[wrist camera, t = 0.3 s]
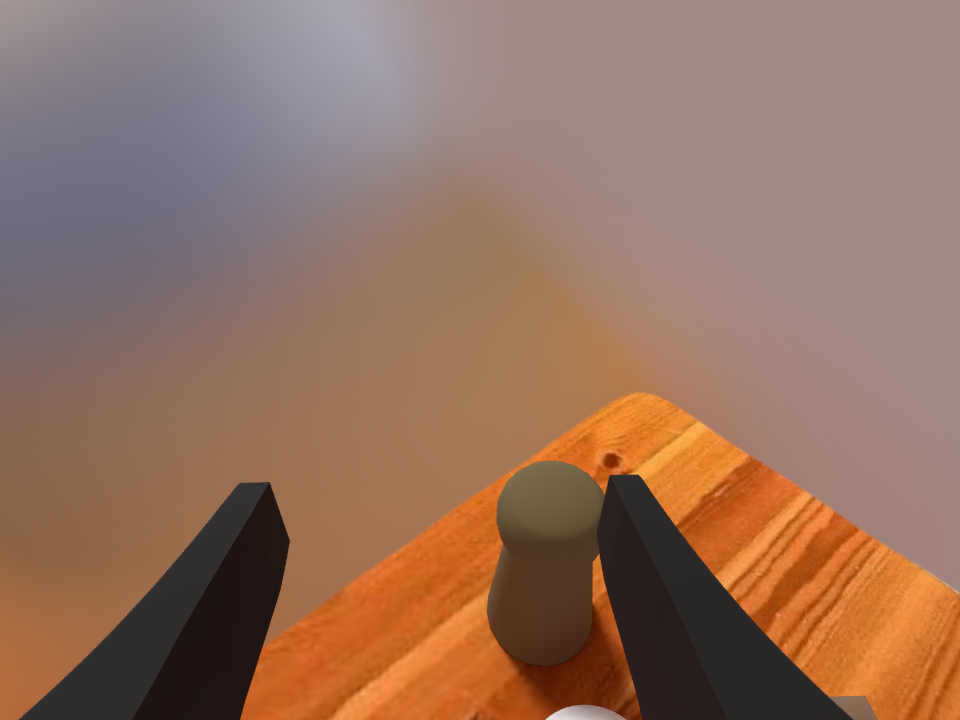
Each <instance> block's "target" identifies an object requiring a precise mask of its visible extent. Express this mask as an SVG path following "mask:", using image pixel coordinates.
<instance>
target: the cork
mask: <svg viewBox="0 0 960 720" xmlns="http://www.w3.org/2000/svg"><path fill="white" fill-rule="evenodd" d="M604 498H605V495H604V493H603V491H602V489H601V488H600V486H599V485H598V484H597V483H596V482H595V481H594V480H593V479H592V478H591V476H590V475H589V474H587V473H586V472H584V471H583V470H581V469H580V468H578V467H576V466H574V465H571V464H567V463H564V462H559V461H542V462H537V463H533V464H531V465H529V466H527V467H525V468H522V469H521V470H519V471H517V472H516V473H515V474H514V475H513V476H512V477H511V478H510V479H509V480H508V481H507V483H506V485H505V487H504V489H503V491H502V493H501V495H500V497H499V499H498V506H497V526H498V529H499V533H500V537H501V539H502V542H503V547H502V550H501V554H500V557H499V561H498V564H497V568H496V571H495V574H494V578H493V581H492V585H491V588H490V592H489V595H488V604H487V616H488V620H489V625H490V629H491V631H492V632H493V634H494V636H495V638H496V639H497V641H498V643H499V644H500V645H501V646H502V647H503V648H504V649H505V650H506V651H507V652H508V653H509V654H510V655H512V656H513V657H515V658H517V659H519V660H521V661H523V662H525V663H528V664H531V665H540V666H551V665H555V664H559V663H563V662H565V661H567V660H568V659H570V658H571V657H573V656H574V655H576V654H577V653H578V652H579V651H580V650H581V648H582V647H583V645H584V644H585V643H586V641H587V640H588V637H589V633H590V630H591V626H592V575H593V561H594V560H595V558H596V557H597V556H598V555H599V547H598V541H597V535H596V533H597V528H598V524H599V520H600V515H601V511H602V507H603V502H604Z"/></svg>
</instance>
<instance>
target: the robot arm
mask: <svg viewBox="0 0 960 720" xmlns="http://www.w3.org/2000/svg"><path fill="white" fill-rule="evenodd" d="M596 535H597V541H598V547H599V553H600V559H601V565H602V571H603V576H604V581H605V585H606V589H607V592H608V596H609V599H610V603H611V606H612V610H613V613H614V617H615V620H616V624H617V627H618V631H619V634H620V638H621V641H622V645H623V648H624V652H625V655H626V659H627V662H628V666H629V669H630V673H631V676H632V679H633V683H634V686H635V690H636V694H637V698H638V702H639V706H640V710H641V715H642V720H854V719H853V718H851V717H850V716H849V715H848V714H847V713H846V712H845V711H844V710H843V709H841V708H840V707H839V706H838V705H837V704H836V703H835V702H834V701H833V700H832V699H830V698H829V697H828V696H827V695H826V694H825V693H824V692H823V691H822V690H821V689H820V688H819V687H817V686H816V685H815V684H814V683H813V682H812V681H811V680H810V679H809V678H808V677H807V676H806V675H805V674H804V673H803V672H802V671H801V670H800V669H799V668H798V667H797V666H796V665H795V664H794V663H793V662H792V661H791V660H790V659H789V658H788V657H787V656H786V655H785V654H784V653H783V652H782V651H781V650H780V649H779V648H778V647H777V646H776V645H775V644H774V643H773V641H772V640H771V639H770V638H769V637H768V636H767V635H766V634H765V633H764V632H763V631H762V630H761V629H760V628H759V627H758V626H757V624H756V623H755V622H754V621H753V620H752V619H751V618H750V617H749V616H748V614H747V613H746V612H745V611H744V610H743V609H742V608H741V607H740V605H739V604H738V603H737V602H736V601H735V600H734V598H733V597H732V596H731V595H730V594H729V593H728V592H727V590H726V589H725V588H724V587H723V586H722V584H721V583H720V582H719V581H718V580H717V578H716V577H715V576H714V575H713V574H712V572H711V571H710V570H709V569H708V567H707V566H706V565H705V564H704V562H703V561H702V560H701V558H700V557H699V556H698V555H697V553H696V552H695V551H694V550H693V548H692V547H691V546H690V545H689V543H688V542H687V541H686V539H685V538H684V537H683V535H682V534H681V533H680V531H679V530H678V529H677V527H676V526H675V525H674V523H673V522H672V520H671V519H670V518H669V516H668V515H667V514H666V512H665V511H664V509H663V508H662V507H661V505H660V504H659V502H658V501H657V500H656V498H655V497H654V495H653V494H652V492H651V491H650V489H649V488H648V487H647V485H646V484H645V482H644V481H643V479H642V478H641V477H640V476H639V475H610V476H609V481H608V485H607V489H606V494H605V498H604V502H603V507H602V511H601V515H600V520H599V524H598V528H597V533H596ZM289 543H290V540H289V537H288V534H287V532H286V528H285V526H284V523H283V520H282V517H281V514H280V511H279V508H278V505H277V502H276V500H275V497H274V494H273V491H272V488H271V485H270V483H269V482H264V483H262V482H261V483H240V484H239V485H238V486H237V487H236V488H235V489H234V490H233V491H232V493H231V494H230V495H229V496H228V498H227V499H226V500H225V501H224V503H223V504H222V505H221V506H220V508H219V509H218V510H217V511H216V513H215V514H214V515H213V516H212V518H211V519H210V520H209V521H208V523H207V524H206V525H205V526H204V528H203V529H202V530H201V531H200V532H199V534H198V535H197V536H196V537H195V539H194V540H193V541H192V542H191V543H190V545H189V546H188V547H187V548H186V549H185V550H184V552H183V553H182V554H181V555H180V556H179V557H178V559H177V560H176V561H175V562H174V563H173V564H172V566H171V567H170V568H169V569H168V570H167V571H166V573H165V574H164V575H163V576H162V577H161V579H160V580H159V581H158V582H157V583H156V584H155V585H154V586H153V588H152V589H151V590H150V591H149V592H148V593H147V594H146V595H145V596H144V597H143V598H142V600H141V601H140V602H139V603H138V604H137V605H136V606H135V607H134V608H133V609H132V610H131V611H130V612H129V614H128V615H127V616H126V617H125V618H124V619H123V620H122V621H121V622H120V623H119V624H118V625H117V626H116V628H115V629H114V630H113V631H112V632H111V633H110V634H109V635H108V636H107V637H106V638H105V639H104V640H103V641H102V642H101V643H100V644H99V645H98V646H97V647H96V648H95V649H94V650H93V651H92V652H91V653H90V654H89V655H88V656H87V657H86V658H85V659H84V660H83V661H82V662H81V663H80V664H79V665H77V666H76V667H75V668H74V669H73V670H72V671H71V672H70V673H69V674H68V675H67V676H66V677H65V678H64V679H63V680H62V681H61V682H60V683H59V684H58V685H57V686H55V687H54V688H53V689H52V690H51V691H50V692H49V693H48V694H47V695H46V696H44V697H43V698H42V699H41V700H40V701H39V702H38V703H37V704H36V705H35V706H34V707H32V708H31V709H30V710H29V711H28V712H27V713H26V714H25V715H23V717H21V718H20V719H19V720H240V718H241V714H242V710H243V707H244V703H245V700H246V697H247V694H248V691H249V687H250V684H251V681H252V678H253V675H254V672H255V669H256V666H257V662H258V659H259V656H260V653H261V650H262V647H263V644H264V641H265V637H266V634H267V631H268V628H269V625H270V622H271V619H272V615H273V612H274V609H275V606H276V602H277V599H278V596H279V593H280V589H281V585H282V580H283V575H284V570H285V565H286V559H287V554H288V548H289Z"/></svg>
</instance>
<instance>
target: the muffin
mask: <svg viewBox="0 0 960 720" xmlns="http://www.w3.org/2000/svg"><path fill="white" fill-rule="evenodd" d="M546 720H626V719H625V718H623V717H622V716H620V715H619V714H617V713H615V712H613V711H611V710H609V709H606V708H603V707H599V706H594V705H576V706H570V707H567V708H564V709H561V710H559V711H557V712H555V713H554V714H552V715H551V716H549V717H548V718H547V719H546Z"/></svg>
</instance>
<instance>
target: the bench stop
mask: <svg viewBox="0 0 960 720" xmlns="http://www.w3.org/2000/svg"><path fill="white" fill-rule="evenodd" d="M829 698H830V699H832V700H833V701H834V702H835V703H836V704H837V705H838V706H839V707H840V708H841V709H843V710H844V711H845V712H846V713H847V714H848V715H849V716H850V717H851V718H853V719H854V720H878V719H877V718H876V716H875V714H874V712H873V710H872V708H871V706H870V704H869V702H868V700H867V698H866V696H841V697H829Z"/></svg>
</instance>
